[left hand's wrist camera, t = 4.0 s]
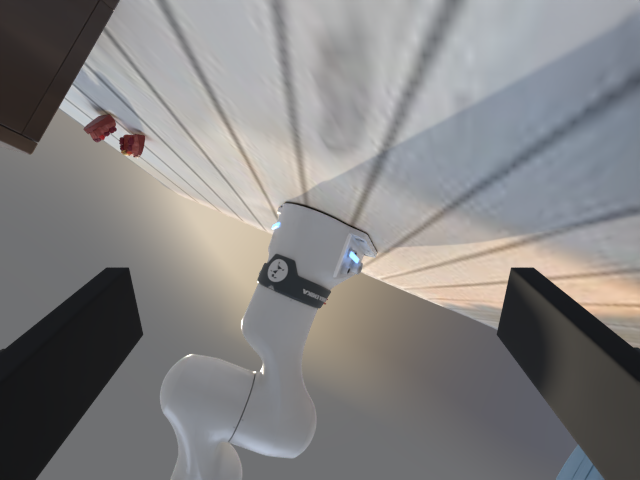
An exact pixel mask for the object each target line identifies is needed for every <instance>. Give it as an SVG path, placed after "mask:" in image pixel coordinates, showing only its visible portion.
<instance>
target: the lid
mask: <svg viewBox="0 0 640 480" xmlns="http://www.w3.org/2000/svg"><path fill="white" fill-rule="evenodd" d="M36 146H37V143H36V142H34V141H32V140H30V139H28V138H26V137H24V136H22V135H20V134H18V133H16V132H13V131H11V130H9V129H7V128H5V127H3V126H1V125H0V147H2V148H6V149H10V150H14V151H18V152H22V153H25V154H29V155H32V153H33V152H34V150H35V148H36Z"/></svg>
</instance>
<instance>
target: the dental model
mask: <svg viewBox="0 0 640 480" xmlns="http://www.w3.org/2000/svg"><path fill="white" fill-rule="evenodd" d="M115 126H116V123H115V120H114V119H113V118H112V117H111V115H102V116H98V117H97V118H96V119H94V120H93V121H92V122H90V123H89V124H88V125H87V126H86V127H85V128H84V130H85V131H86V133H88V134H90V135H91V137H92V138H93V140H94V141H95V142H99V141H101V139H102V140H104V138H105V137H106V136H108V135H109V134H110V133H114V132H115V131H116V130H117V129H116V128H115ZM109 132H110V133H109ZM119 141H120V143H119V144H120V147H121V148H120V150H121V153H122V154H123V155H128V156H134V157H135V158H138V157H139V156H140V155H141V154H142V151H143V148H144V142H145V136H144V135H139V134H134V135H124V136H123V137H121V138H120V140H119Z"/></svg>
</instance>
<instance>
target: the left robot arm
mask: <svg viewBox="0 0 640 480" xmlns="http://www.w3.org/2000/svg"><path fill="white" fill-rule="evenodd" d="M142 336H143V332H142V327H141V322H140V317H139V313H138V308H137V303H136V299H135V294H134V289H133V285H132V280H131V275H130V271H129V268H105V269H104V270H103V271H102V272H100V273H99V274H98V275H97V276H95V277H94V278H93V279H92V280H90V281H89V282H88V283H87V284H86V285H84V286H83V287H82V288H81V289H79V290H78V291H77V292H76V293H74V294H73V295H72V296H71V297H69V298H68V299H67V300H66V301H64V302H63V303H62V304H61V305H59V306H58V307H57V308H56V309H54V310H53V311H52V312H51V313H49V314H48V315H47V316H46V317H44V318H43V319H42V320H41V321H39V322H38V323H37V324H36V325H34V326H33V327H32V328H31V329H29V330H28V331H27V332H26V333H24V334H23V335H22V336H21V337H19V338H18V339H17V340H16V341H14V342H13V343H12V344H11V345H9V346H8V347H7V348H6V349H2V350H0V480H36V478H37V477H38V476H39V474H40V473H41V472H42V470H43V469H44V468H45V466H46V465H47V464H48V462H49V461H50V460H51V458H52V457H53V455H54V454H55V453H56V451H57V450H58V449H59V447H60V446H61V445H62V443H63V442H64V441H65V439H66V438H67V437H68V435H69V434H70V433H71V431H72V430H73V428H74V427H75V426H76V424H77V423H78V422H79V420H80V419H81V418H82V416H83V415H84V414H85V412H86V411H87V410H88V408H89V407H90V406H91V404H92V403H93V402H94V400H95V399H96V398H97V396H98V395H99V394H100V392H101V391H102V389H103V388H104V387H105V385H106V384H107V383H108V381H109V380H110V379H111V377H112V376H113V375H114V373H115V372H116V371H117V369H118V368H119V367H120V365H121V364H122V362H123V361H124V360H125V358H126V357H127V356H128V354H129V353H130V352H131V350H132V349H133V348H134V346H135V345H136V344H137V342H138V341H139V340H140V338H141V337H142ZM497 336H498V337H499V338H500V340H501V341H502V342H503V344H504V345H505V346H506V348H507V349H508V350H509V352H510V353H511V354H512V356H513V357H514V358H515V360H516V361H517V362H518V364H519V365H520V367H521V368H522V369H523V371H524V372H525V373H526V375H527V376H528V377H529V379H530V380H531V381H532V383H533V384H534V385H535V387H536V388H537V389H538V391H539V392H540V394H541V395H542V396H543V398H544V399H545V400H546V402H547V403H548V404H549V406H550V407H551V408H552V410H553V411H554V412H555V414H556V415H557V416H558V418H559V419H560V420H561V422H562V423H563V424H564V426H565V427H566V428H567V430H568V431H569V433H570V434H571V435H572V437H573V438H574V439H575V441H576V442H577V443H578V446H577V447H576V448H575V450H574V451H573V452H572V454H571V455H570V457H569V458H568V460H567V461H566V463H565V464H564V466H563V468H562V469H561V471H560V473H559V475H558V476H557V478H556V480H640V349H639V348H633V347H632V346H631V345H629V344H628V343H627V342H626V341H624V340H623V339H622V338H621V337H619V336H618V335H617V334H616V333H614V332H613V331H612V330H611V329H609V328H608V327H607V326H606V325H604V324H603V323H602V322H601V321H599V320H598V319H597V318H596V317H594V316H593V315H592V314H591V313H589V312H588V311H587V310H586V309H584V308H583V307H582V306H581V305H579V304H578V303H577V302H576V301H574V300H573V299H572V298H571V297H569V296H568V295H567V294H566V293H564V292H563V291H562V290H561V289H559V288H558V287H557V286H556V285H554V284H553V283H552V282H551V281H550V280H548V279H547V278H546V277H545V276H543V275H542V274H541V273H540V272H538V271H537V270H536V269H535V268H511V271H510V275H509V280H508V285H507V289H506V294H505V299H504V303H503V308H502V313H501V317H500V322H499V327H498V331H497Z"/></svg>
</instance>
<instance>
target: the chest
mask: <svg viewBox="0 0 640 480" xmlns="http://www.w3.org/2000/svg"><path fill="white" fill-rule="evenodd" d="M118 3H119V0H0V125H1V126H3V127H5V128H7V129H9V130H11V131H13V132H16V133H18V134H20V135H22V136H24V137H26V138H28V139H30V140H32V141H34V142H39V141H40V139H41V138H42V136H43V134H44V132H45V131H46V129H47V127H48V125H49V124H50V122H51V120H52V118H53V117H54V115H55V113H56V111H57V110H58V108H59V106H60V104H61V103H62V101H63V99H64V97H65V96H66V94H67V92H68V90H69V89H70V87H71V85H72V83H73V82H74V80H75V78H76V76H77V75H78V73H79V71H80V69H81V68H82V66H83V64H84V62H85V61H86V59H87V57H88V55H89V54H90V52H91V50H92V48H93V47H94V45H95V43H96V41H97V40H98V38H99V36H100V34H101V33H102V31H103V29H104V27H105V26H106V24H107V22H108V20H109V19H110V17H111V15H112V13H113V10H115V8H116V6H117V4H118Z"/></svg>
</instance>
